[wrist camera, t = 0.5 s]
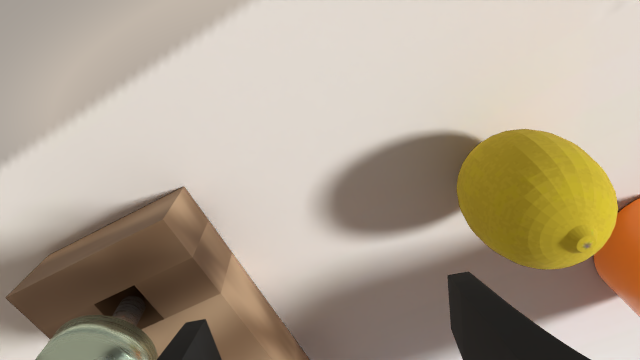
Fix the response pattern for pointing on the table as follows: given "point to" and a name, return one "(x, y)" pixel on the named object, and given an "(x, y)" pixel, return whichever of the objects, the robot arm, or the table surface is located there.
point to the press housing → (159, 283)
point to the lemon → (537, 199)
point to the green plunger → (103, 336)
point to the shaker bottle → (623, 257)
